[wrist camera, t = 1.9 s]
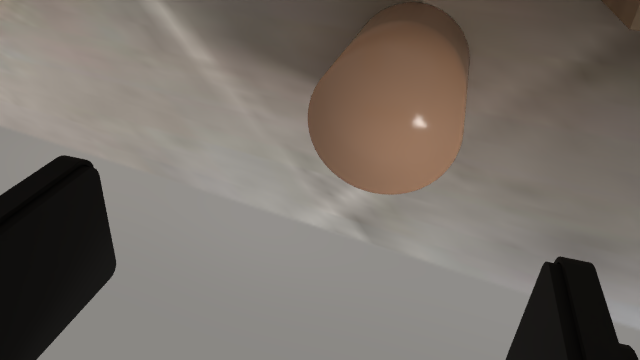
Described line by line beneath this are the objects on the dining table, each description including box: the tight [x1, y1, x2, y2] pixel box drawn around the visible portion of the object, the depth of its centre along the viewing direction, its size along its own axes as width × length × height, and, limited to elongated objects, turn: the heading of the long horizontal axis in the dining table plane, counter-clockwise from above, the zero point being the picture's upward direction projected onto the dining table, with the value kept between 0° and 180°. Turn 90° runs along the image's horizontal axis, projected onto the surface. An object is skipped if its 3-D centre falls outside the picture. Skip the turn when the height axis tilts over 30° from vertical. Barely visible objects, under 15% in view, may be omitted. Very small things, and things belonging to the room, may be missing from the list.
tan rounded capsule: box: [308, 2, 470, 194], centre depth 19 cm, size 5×5×7 cm
